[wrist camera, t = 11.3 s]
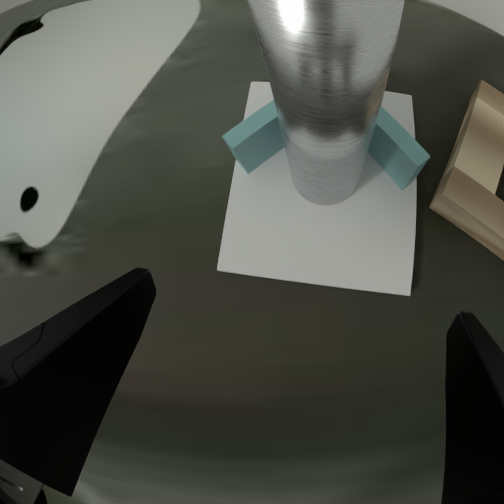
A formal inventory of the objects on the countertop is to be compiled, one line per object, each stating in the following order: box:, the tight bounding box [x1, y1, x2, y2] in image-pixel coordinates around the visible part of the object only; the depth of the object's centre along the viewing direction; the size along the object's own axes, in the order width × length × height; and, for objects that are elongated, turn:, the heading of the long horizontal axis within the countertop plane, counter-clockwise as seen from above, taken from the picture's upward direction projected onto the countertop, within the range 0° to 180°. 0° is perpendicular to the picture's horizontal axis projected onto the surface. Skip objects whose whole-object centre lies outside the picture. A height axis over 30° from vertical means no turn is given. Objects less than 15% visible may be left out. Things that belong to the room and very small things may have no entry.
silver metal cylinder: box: [248, 0, 405, 205], centre depth 11 cm, size 4×4×15 cm
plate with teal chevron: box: [217, 82, 430, 296], centre depth 17 cm, size 13×11×4 cm
